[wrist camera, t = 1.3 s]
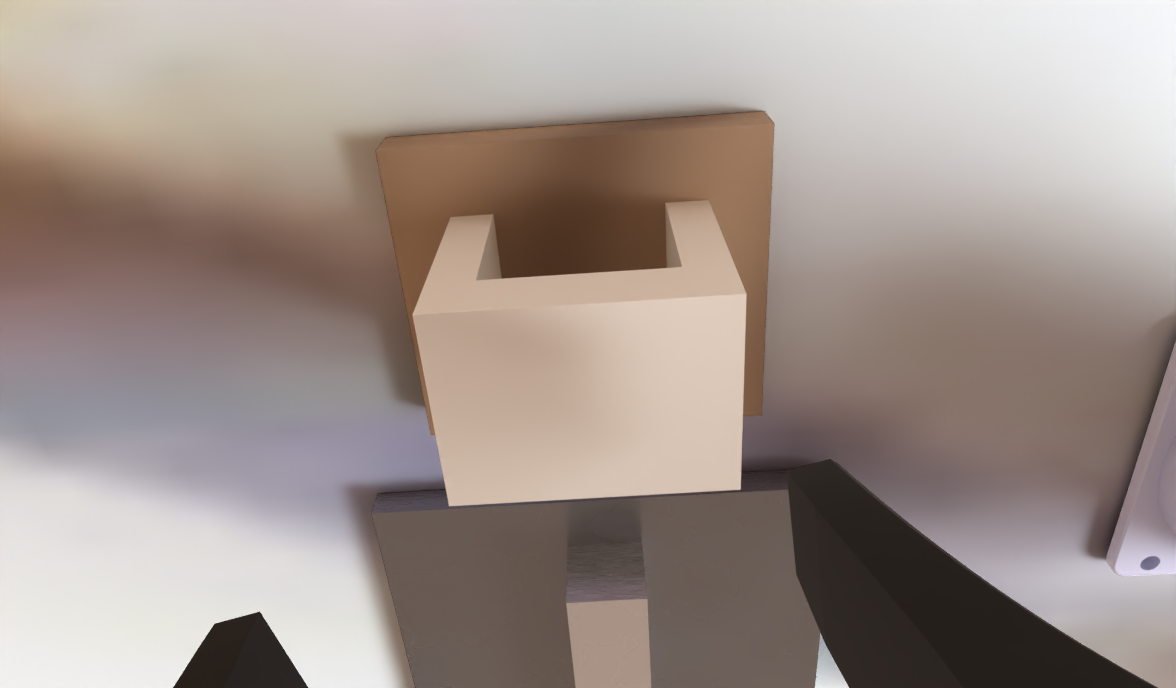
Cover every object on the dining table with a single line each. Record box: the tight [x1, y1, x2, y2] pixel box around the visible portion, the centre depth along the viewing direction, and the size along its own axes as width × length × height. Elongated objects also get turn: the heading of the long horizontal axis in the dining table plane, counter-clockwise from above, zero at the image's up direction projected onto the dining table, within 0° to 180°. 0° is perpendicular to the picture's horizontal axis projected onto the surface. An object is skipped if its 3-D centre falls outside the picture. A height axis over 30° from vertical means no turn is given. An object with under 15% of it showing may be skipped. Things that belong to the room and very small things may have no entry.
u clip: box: [413, 200, 747, 506], centre depth 16 cm, size 5×4×4 cm
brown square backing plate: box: [376, 111, 774, 435], centre depth 19 cm, size 8×7×1 cm
